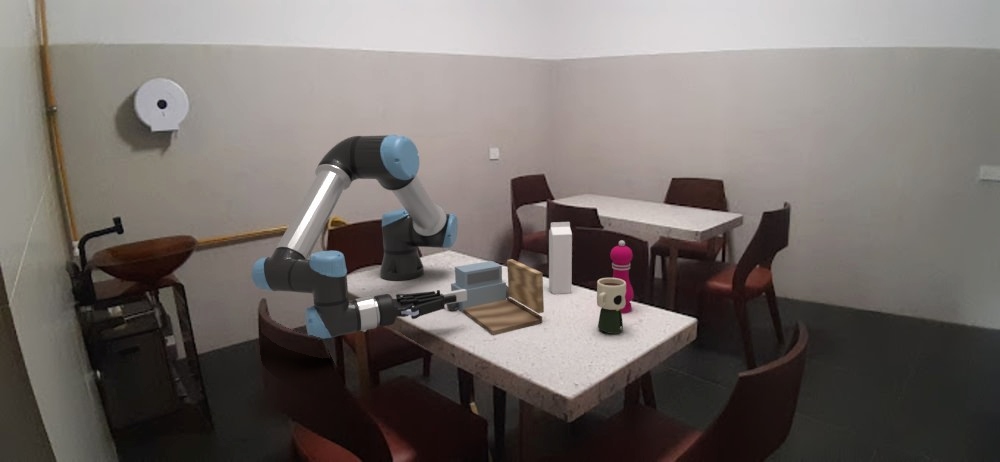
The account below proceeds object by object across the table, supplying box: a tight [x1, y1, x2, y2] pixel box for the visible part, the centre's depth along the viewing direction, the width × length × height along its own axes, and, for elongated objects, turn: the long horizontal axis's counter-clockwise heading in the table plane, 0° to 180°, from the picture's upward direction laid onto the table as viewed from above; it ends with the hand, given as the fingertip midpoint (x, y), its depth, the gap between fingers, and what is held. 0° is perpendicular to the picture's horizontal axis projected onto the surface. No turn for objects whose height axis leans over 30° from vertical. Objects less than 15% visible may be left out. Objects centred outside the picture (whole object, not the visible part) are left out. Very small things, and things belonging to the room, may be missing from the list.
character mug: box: [596, 277, 626, 334], centre depth 129 cm, size 11×7×13 cm, turn 138°
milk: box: [548, 221, 573, 295], centre depth 159 cm, size 6×6×22 cm
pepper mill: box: [609, 239, 634, 314], centre depth 143 cm, size 7×7×20 cm
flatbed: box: [462, 297, 543, 336], centre depth 140 cm, size 18×15×2 cm
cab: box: [446, 260, 510, 313], centre depth 150 cm, size 8×19×12 cm, turn 119°
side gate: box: [506, 258, 545, 314], centre depth 142 cm, size 16×2×11 cm, turn 29°
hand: (465, 294), depth 133 cm, fingers closed
